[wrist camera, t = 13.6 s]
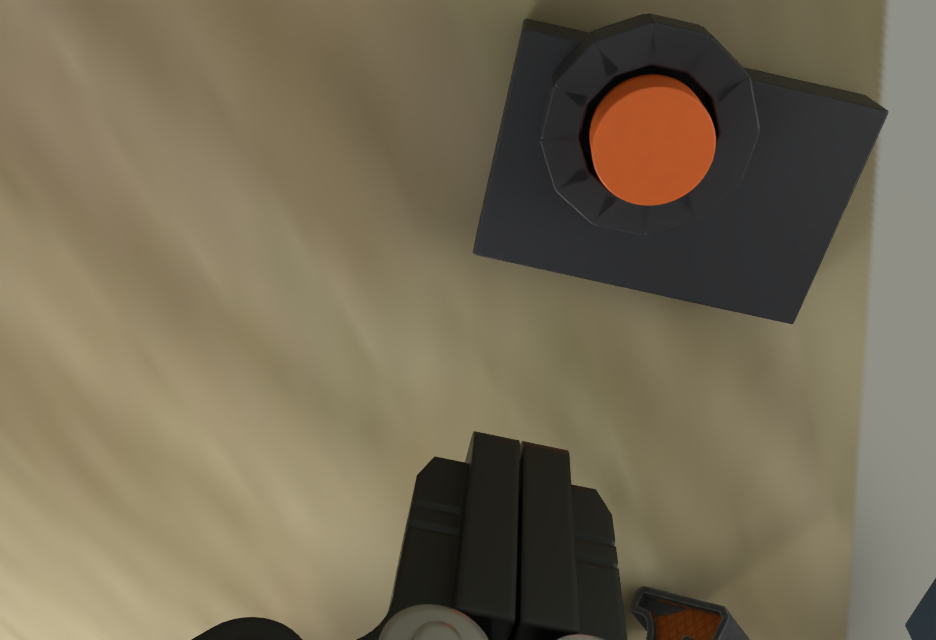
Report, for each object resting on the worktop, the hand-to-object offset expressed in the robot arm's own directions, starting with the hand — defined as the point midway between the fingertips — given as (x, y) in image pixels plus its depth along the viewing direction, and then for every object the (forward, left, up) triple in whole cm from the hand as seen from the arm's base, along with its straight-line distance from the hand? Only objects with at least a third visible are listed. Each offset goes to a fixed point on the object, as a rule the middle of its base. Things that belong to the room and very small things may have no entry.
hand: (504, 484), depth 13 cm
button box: (0, -5, -19) cm, 20 cm away
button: (+2, -3, -16) cm, 16 cm away
